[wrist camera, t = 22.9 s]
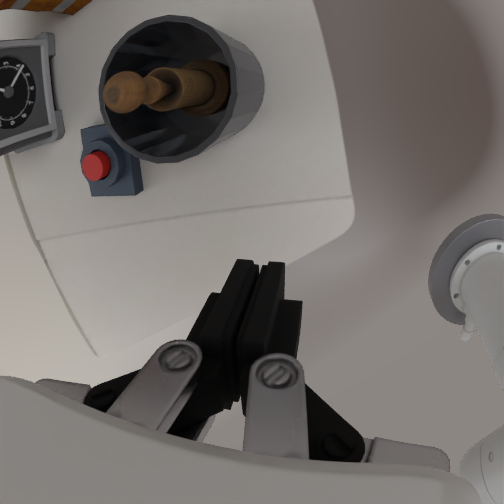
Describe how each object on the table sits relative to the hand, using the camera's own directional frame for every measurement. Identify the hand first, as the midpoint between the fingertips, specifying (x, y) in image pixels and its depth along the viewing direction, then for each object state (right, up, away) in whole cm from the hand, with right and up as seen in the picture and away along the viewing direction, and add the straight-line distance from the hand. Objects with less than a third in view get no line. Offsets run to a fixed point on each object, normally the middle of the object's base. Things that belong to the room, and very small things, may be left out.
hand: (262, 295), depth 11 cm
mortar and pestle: (-5, +20, +21) cm, 30 cm away
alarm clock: (-36, +27, +25) cm, 52 cm away
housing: (-19, +15, +28) cm, 37 cm away
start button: (-20, +13, +25) cm, 35 cm away
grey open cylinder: (-5, +21, +21) cm, 30 cm away
